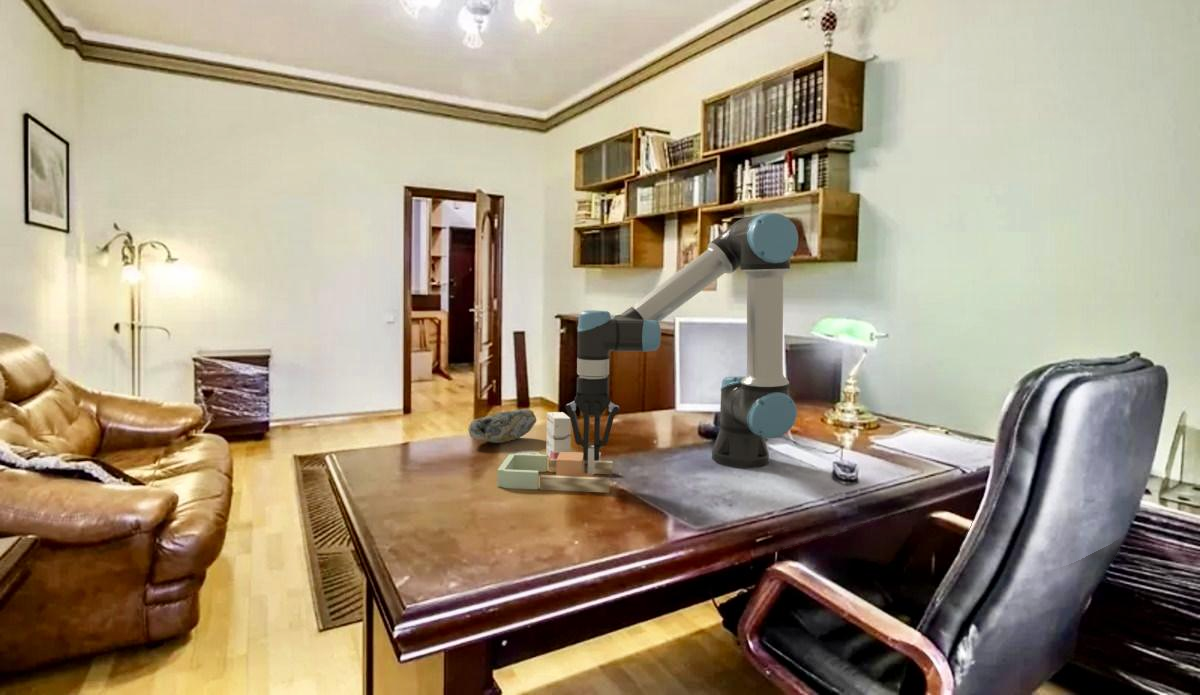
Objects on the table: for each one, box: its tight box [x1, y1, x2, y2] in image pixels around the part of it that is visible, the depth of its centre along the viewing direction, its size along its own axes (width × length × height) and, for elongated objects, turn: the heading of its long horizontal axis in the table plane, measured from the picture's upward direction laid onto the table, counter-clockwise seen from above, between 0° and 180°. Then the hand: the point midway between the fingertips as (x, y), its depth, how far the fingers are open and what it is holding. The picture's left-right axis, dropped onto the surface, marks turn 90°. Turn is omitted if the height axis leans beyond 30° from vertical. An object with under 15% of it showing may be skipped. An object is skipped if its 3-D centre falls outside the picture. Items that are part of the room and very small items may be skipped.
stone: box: [468, 408, 537, 444], centre depth 189 cm, size 11×21×10 cm, turn 119°
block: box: [555, 451, 585, 477], centre depth 156 cm, size 6×7×6 cm
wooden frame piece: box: [539, 450, 614, 494], centre depth 160 cm, size 16×22×3 cm
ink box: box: [545, 411, 572, 459], centre depth 175 cm, size 9×5×12 cm, turn 18°
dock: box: [496, 452, 548, 490], centre depth 157 cm, size 10×15×4 cm, turn 176°
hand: (591, 473), depth 156 cm, fingers closed
